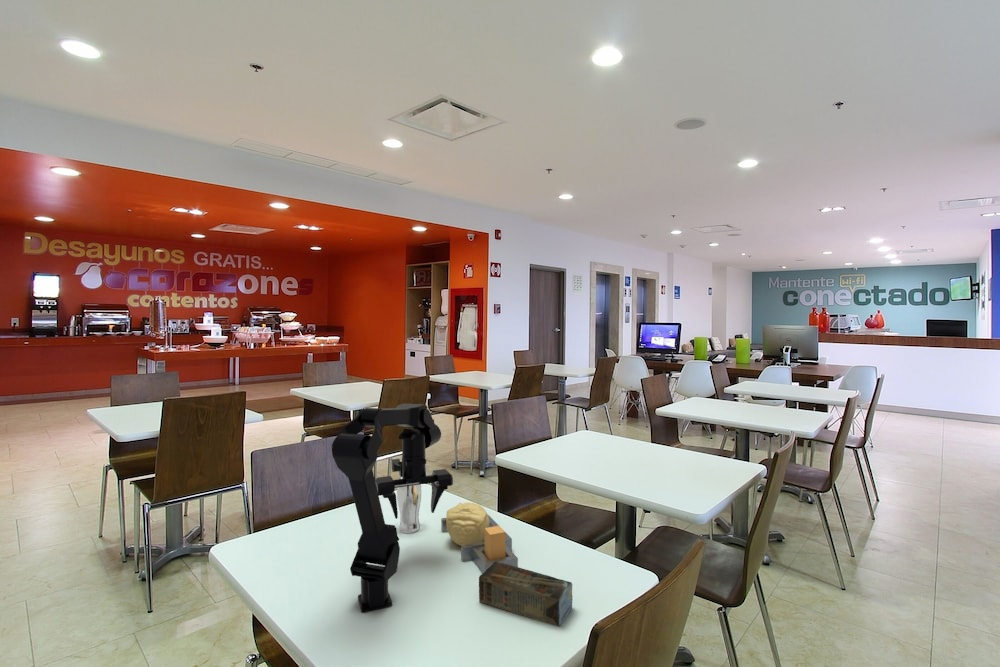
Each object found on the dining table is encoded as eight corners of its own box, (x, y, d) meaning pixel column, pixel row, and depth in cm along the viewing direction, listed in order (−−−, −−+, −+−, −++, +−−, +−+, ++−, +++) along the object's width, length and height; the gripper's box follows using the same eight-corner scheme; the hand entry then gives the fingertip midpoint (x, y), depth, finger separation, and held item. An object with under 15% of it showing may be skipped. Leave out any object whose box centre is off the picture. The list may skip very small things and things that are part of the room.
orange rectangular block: (505, 567, 124) (505, 531, 123) (490, 571, 122) (490, 534, 122) (499, 560, 127) (499, 525, 127) (484, 563, 126) (484, 528, 126)
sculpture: (442, 549, 133) (441, 509, 133) (454, 530, 145) (454, 493, 145) (483, 553, 131) (483, 512, 131) (493, 533, 143) (493, 496, 143)
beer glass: (393, 532, 144) (392, 480, 143) (404, 522, 151) (403, 473, 150) (415, 535, 142) (414, 483, 141) (425, 525, 149) (425, 475, 148)
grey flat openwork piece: (527, 568, 123) (527, 554, 123) (475, 579, 118) (475, 564, 118) (484, 522, 150) (484, 511, 150) (441, 530, 145) (441, 518, 145)
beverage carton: (559, 629, 100) (559, 597, 100) (476, 604, 109) (476, 574, 109) (573, 608, 107) (573, 578, 107) (494, 586, 116) (494, 558, 116)
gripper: (441, 442, 137) (441, 499, 137) (371, 449, 130) (371, 509, 130) (453, 452, 126) (453, 513, 127) (377, 461, 119) (378, 526, 120)
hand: (414, 515), depth 126 cm, fingers open, 9 cm apart
